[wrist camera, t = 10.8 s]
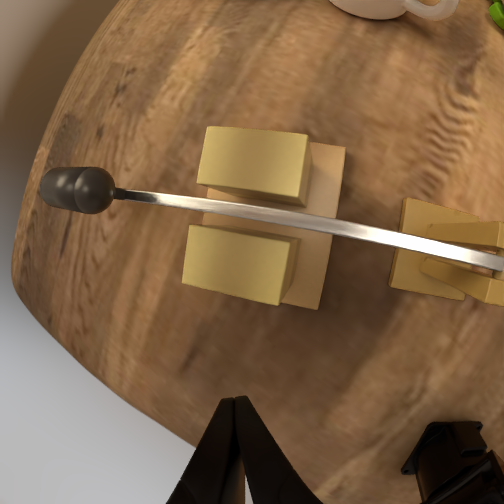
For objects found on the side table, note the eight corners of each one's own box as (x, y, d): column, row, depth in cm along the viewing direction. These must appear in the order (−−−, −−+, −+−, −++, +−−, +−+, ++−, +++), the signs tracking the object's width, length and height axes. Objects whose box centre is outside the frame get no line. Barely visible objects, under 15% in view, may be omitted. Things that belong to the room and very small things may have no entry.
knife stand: (473, 217, 17) (561, 212, 7) (458, 298, 17) (535, 344, 8) (403, 198, 18) (468, 172, 8) (387, 284, 19) (439, 333, 9)
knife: (487, 234, 10) (548, 233, 5) (478, 286, 10) (533, 313, 5) (99, 175, 19) (37, 165, 14) (94, 208, 19) (32, 204, 14)
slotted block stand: (345, 150, 19) (354, 112, 12) (318, 307, 20) (313, 345, 13) (222, 135, 21) (178, 99, 14) (197, 280, 22) (146, 301, 15)
